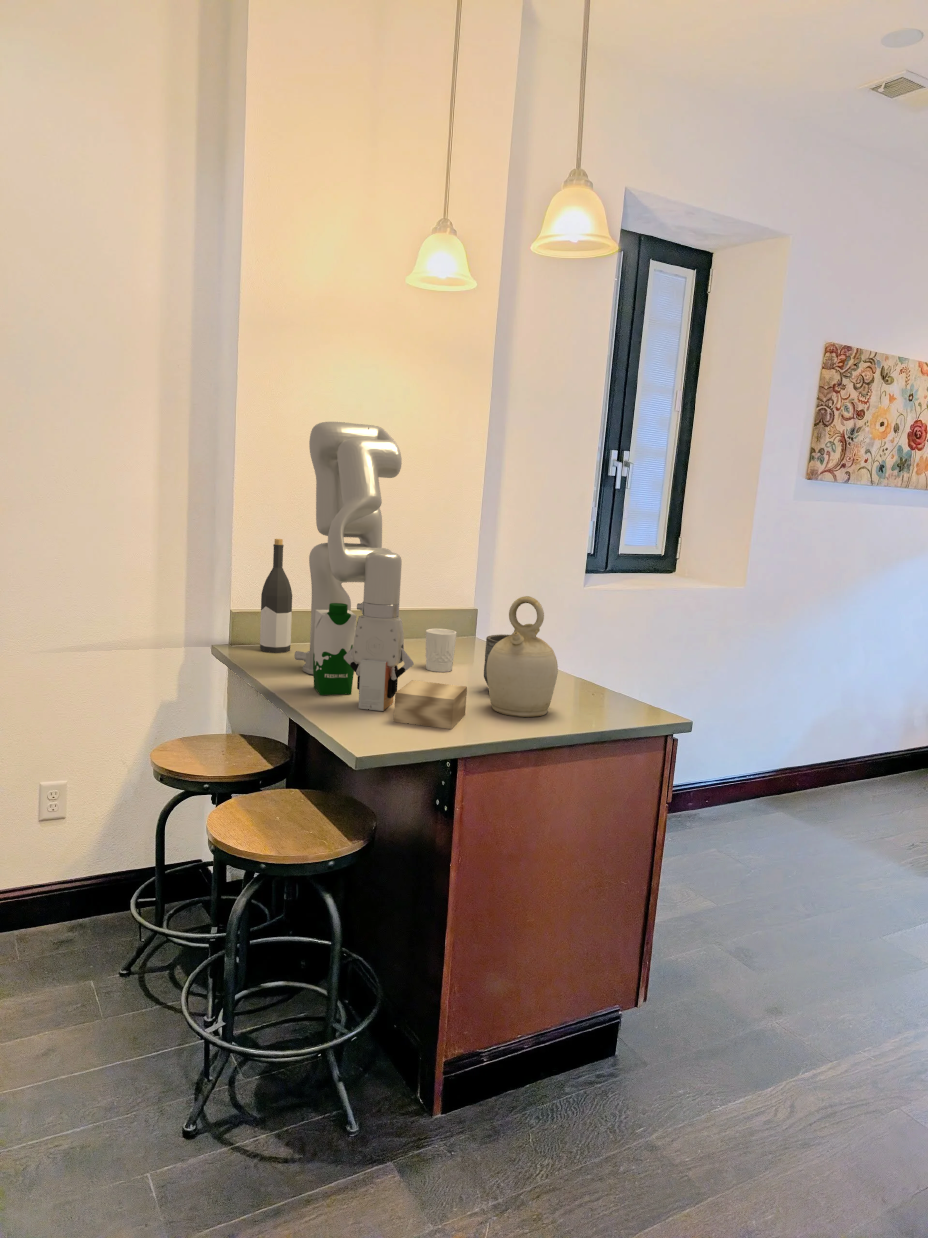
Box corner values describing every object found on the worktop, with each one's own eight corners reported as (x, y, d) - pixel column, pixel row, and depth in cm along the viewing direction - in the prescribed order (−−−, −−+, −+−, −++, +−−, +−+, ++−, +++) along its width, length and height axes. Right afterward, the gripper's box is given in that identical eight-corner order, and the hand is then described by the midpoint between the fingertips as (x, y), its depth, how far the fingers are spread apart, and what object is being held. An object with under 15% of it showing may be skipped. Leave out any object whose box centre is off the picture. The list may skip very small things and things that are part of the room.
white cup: (418, 670, 225) (420, 631, 224) (431, 664, 232) (433, 627, 231) (447, 674, 222) (449, 635, 221) (458, 668, 230) (461, 631, 228)
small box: (383, 712, 183) (385, 662, 181) (357, 709, 184) (359, 659, 182) (394, 703, 191) (396, 655, 189) (369, 700, 192) (371, 652, 190)
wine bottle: (296, 650, 239) (300, 540, 235) (275, 654, 232) (279, 540, 228) (274, 645, 243) (278, 537, 239) (253, 649, 237) (256, 537, 232)
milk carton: (317, 696, 192) (320, 605, 189) (308, 686, 200) (312, 599, 197) (356, 695, 195) (360, 606, 192) (346, 685, 204) (350, 600, 201)
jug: (511, 697, 203) (519, 589, 199) (567, 711, 193) (577, 599, 189) (469, 708, 191) (477, 593, 187) (527, 724, 181) (537, 603, 177)
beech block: (393, 721, 176) (395, 692, 175) (410, 707, 188) (412, 680, 187) (451, 729, 174) (453, 699, 173) (465, 714, 185) (467, 686, 184)
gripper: (335, 609, 182) (332, 694, 185) (415, 617, 179) (410, 704, 182) (348, 605, 190) (344, 686, 193) (425, 612, 186) (420, 695, 189)
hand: (376, 694), depth 187 cm, fingers closed on small box, 5 cm apart
